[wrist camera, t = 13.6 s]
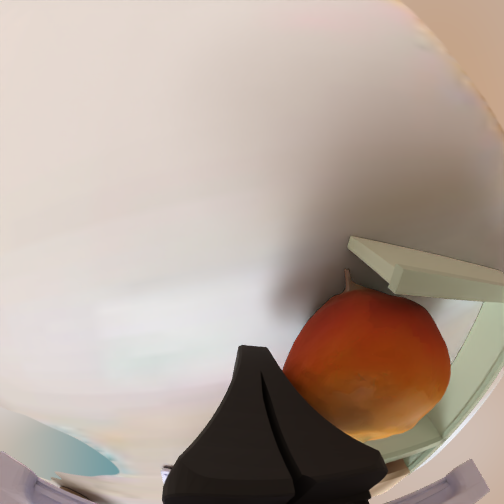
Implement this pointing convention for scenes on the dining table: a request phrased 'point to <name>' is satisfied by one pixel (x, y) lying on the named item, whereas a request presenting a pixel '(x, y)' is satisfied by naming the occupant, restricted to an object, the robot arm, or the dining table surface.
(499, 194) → the dining table surface
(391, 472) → the walnut box
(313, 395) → the fruit
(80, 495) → the flower pot
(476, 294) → the divider frame
